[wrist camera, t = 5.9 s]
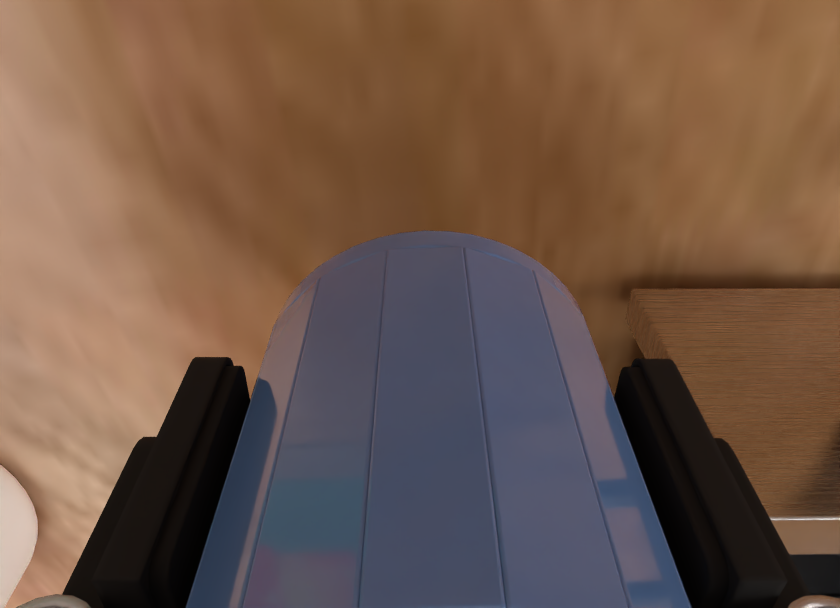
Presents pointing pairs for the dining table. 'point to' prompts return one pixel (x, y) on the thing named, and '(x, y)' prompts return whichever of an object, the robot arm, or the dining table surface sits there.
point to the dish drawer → (764, 399)
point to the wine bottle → (14, 533)
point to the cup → (434, 447)
